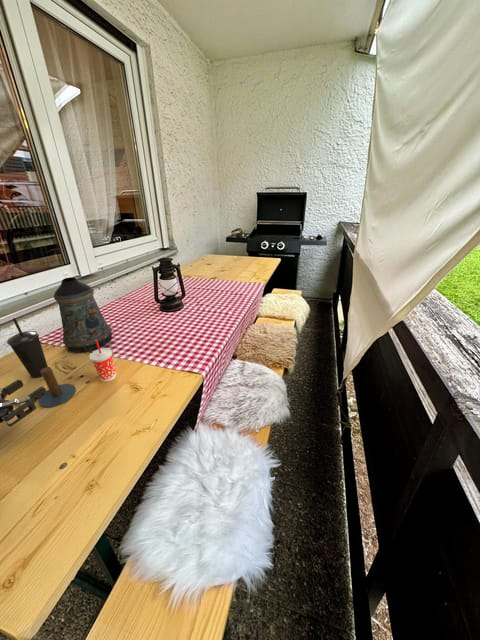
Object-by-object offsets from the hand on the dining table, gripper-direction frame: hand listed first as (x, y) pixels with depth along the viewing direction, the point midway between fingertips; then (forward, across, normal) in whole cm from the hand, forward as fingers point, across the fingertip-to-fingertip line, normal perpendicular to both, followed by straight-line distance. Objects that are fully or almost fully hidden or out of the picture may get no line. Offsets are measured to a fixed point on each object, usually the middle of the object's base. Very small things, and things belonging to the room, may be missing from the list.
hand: (32, 385), depth 67 cm
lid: (+4, 0, +8) cm, 9 cm away
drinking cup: (+10, +15, +8) cm, 20 cm away
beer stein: (+30, +16, +8) cm, 35 cm away
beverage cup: (+15, -8, +8) cm, 19 cm away
